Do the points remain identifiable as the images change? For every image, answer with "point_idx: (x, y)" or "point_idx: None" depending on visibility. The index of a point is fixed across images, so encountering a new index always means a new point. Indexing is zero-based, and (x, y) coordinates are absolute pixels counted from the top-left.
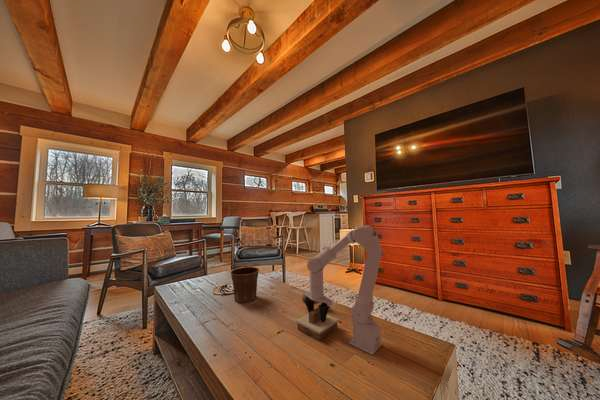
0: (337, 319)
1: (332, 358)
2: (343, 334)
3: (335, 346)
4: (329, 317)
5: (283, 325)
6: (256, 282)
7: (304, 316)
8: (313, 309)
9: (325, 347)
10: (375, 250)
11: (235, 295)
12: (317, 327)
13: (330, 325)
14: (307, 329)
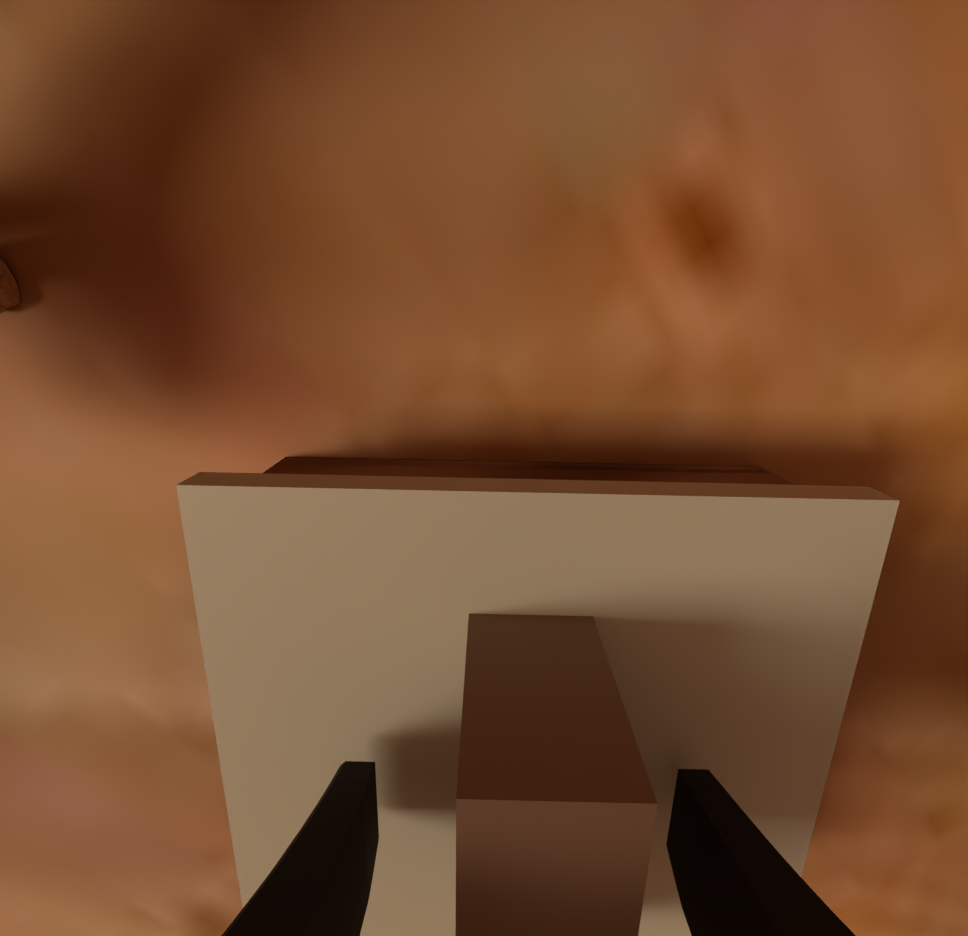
0: (871, 528)
1: (945, 931)
2: (906, 541)
3: (903, 794)
4: (673, 569)
5: (116, 858)
6: None
7: (254, 831)
8: (336, 875)
9: (808, 862)
10: None
11: None
12: (674, 931)
13: (822, 760)
14: None
